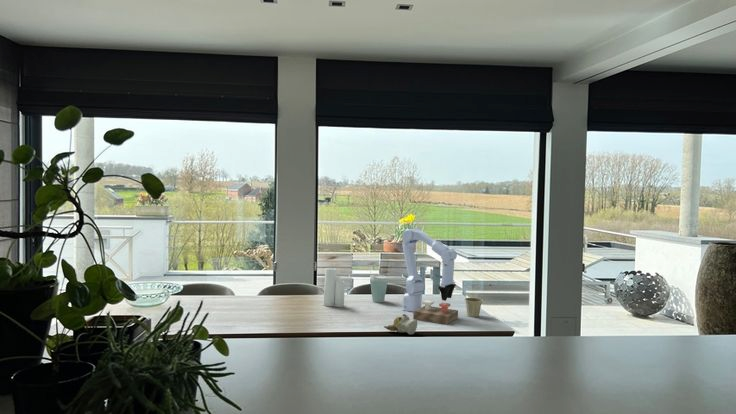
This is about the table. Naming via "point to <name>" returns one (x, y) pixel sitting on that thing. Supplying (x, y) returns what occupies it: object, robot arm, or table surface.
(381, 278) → the disposable coffee cup
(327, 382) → the table surface
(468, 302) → the flower pot
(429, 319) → the panel
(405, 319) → the ceramic sculpture
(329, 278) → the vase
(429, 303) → the cream button
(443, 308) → the red button
